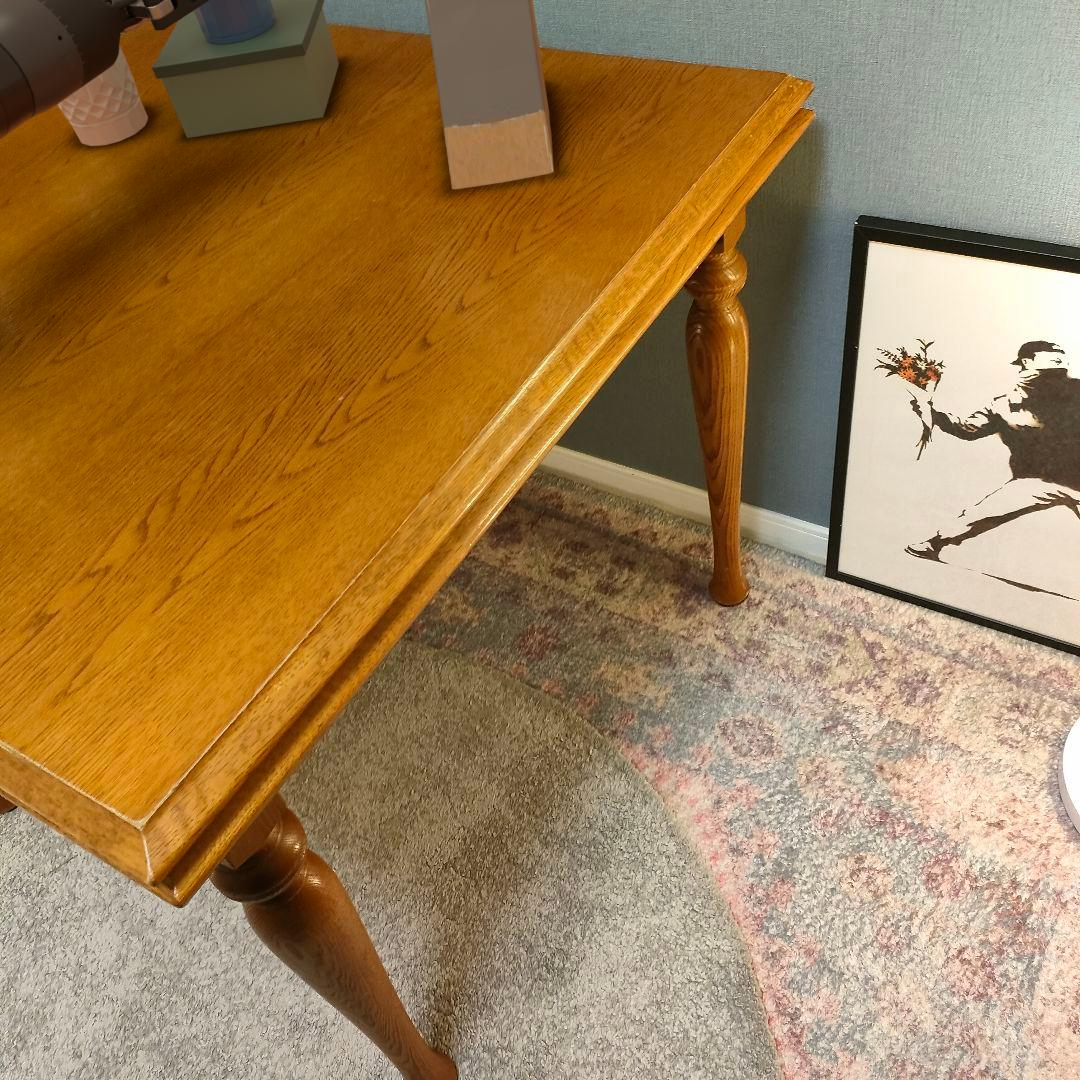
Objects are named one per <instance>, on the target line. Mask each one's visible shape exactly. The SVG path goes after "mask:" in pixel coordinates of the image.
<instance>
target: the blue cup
mask: <svg viewBox="0 0 1080 1080" xmlns="http://www.w3.org/2000/svg"><path fill="white" fill-rule="evenodd" d="M193 12H195V15H196V18H197V20H198V23H199V25H200V28H201V30H202V32H203V35H204V38H205V39H206V40H207V41H208V42H210V43H214V44H231V43H237V42H241V41H245V40H248V39H251V38H253V37H256V36H258V35H260V34H262V33H264V32H265V31H267V30H268V29H270V28H271V27H272V26H273V25H274V23H275V21H276V17H275V14H274V9H273V6H272V3H271V0H209V1H208V2H206V3H205V4H203V5H201V6H200V7H198V8H197V9H195V10H194V11H193Z"/></svg>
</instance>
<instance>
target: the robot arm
mask: <svg viewBox="0 0 1080 1080" xmlns="http://www.w3.org/2000/svg"><path fill="white" fill-rule="evenodd" d="M208 1H209V0H0V140H2V139H3V138H5V137H7V136H8V135H9V134H10V133H12V132H14V131H15V130H16V129H18V128H19V127H21V126H22V125H23V124H25V123H27V122H28V121H29V120H31V119H32V118H34V117H36V116H38V115H40V114H42V113H45V112H47V111H49V110H51V109H52V108H54V107H56V106H58V105H57V104H59V103H60V102H62V101H63V100H65V99H66V98H67V97H69V96H70V95H72V94H73V93H74V92H76V91H77V90H79V89H80V88H82V87H83V86H84V85H86V84H87V83H89V82H90V81H92V80H93V79H94V78H96V77H97V76H99V75H100V74H102V73H103V72H104V71H106V70H107V69H109V68H110V67H111V66H113V64H114V63H115V62H116V60H117V58H118V54H119V44H120V45H121V43H120V42H121V35H122V34H125V33H128V32H130V31H131V32H132V31H134V30H137V29H138V28H140V26H141V25H142V24H143V23H147V22H149V21H150V22H151V25H152V27H153V29H154V31H165V30H166V29H168V28H169V27H171V26H173V25H174V24H176V23H178V21H179V20H180V19H182V18H183V17H185V16H186V15H188V14H189V13H191V12H194V10H195V9H197V8H198V7H200V6H201V5H203V4H205V3H206V2H208Z"/></svg>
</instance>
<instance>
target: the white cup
mask: <svg viewBox="0 0 1080 1080" xmlns="http://www.w3.org/2000/svg"><path fill="white" fill-rule="evenodd" d="M56 106H58V108H59V110H60V111H61V113H62V114H63V116H64V118H66V120H68V123H69V124H70V125H71V127H72V129H73V131H74V133H75V134H76V136H77V138H78V140H79V142H80V143H81V144H83V145H86V146H90V147H98V146H107V145H112V144H115V143H118V142H122V141H123V140H126V139H129V138H130V137H132V136H134V135H136V134H137V133H138V132H140V131H141V130H142V129H143V128H145V126H146V125H147V122H148V120H149V116H148V114H147V111H146V109H145V106H144V104H143V102H142V100H141V97H140V95H139V90H138V86H137V84H136V81H135V78H134V76H133V73H132V70H131V67H130V66H129V63H128V60H127V58H126V55H125V53H124V51H123V48H122V46H121V43H120V44H119V54H118V58H117V60H116V62H115V63H114V64H113V66H111V67H110V68H109V69H107V70H106V71H104V72H103V73H102V74H100V75H99V76H97V77H96V78H94V79H93V80H92V81H90V82H89V83H87V84H86V85H84V86H83V87H82V88H80V89H79V90H77V91H76V92H74V93H73V94H72V95H70V96H69V97H67V98H66V99H65V100H63V101H62V102H60V103H59V104H57V105H56Z"/></svg>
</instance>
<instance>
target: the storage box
mask: <svg viewBox="0 0 1080 1080" xmlns="http://www.w3.org/2000/svg"><path fill="white" fill-rule="evenodd" d="M271 3H272V6H273V9H274V14H275V17H276V21H275V23H274V25H273V26H272V27H271V28H270V29H268V30H267V31H265V32H264V33H262V34H260V35H258V36H256V37H253V38H251V39H248V40H245V41H241V42H237V43H231V44H214V43H210V42H208V41H207V40H206V39H205V38H204V35H203V32H202V30H201V28H200V25H199V23H198V20H197V18H196V15H195V12H194V11H192V12H191V13H189V14H188V15H186V16H185V17H183V18H182V19H180V20H178V21H177V22H176V25H175V26H174V28H173V29H172V32H171V33H170V35H169V37H168V38H167V41H166V43H165V44H164V45H163V47H162V49H161V51H160V53H159V54H158V57H157V58H156V60H155V62H154V64H153V65H152V66H151V69H152V73H153V75H154V77H155V79H156V80H158V79H160V80H161V82H162V84H163V85H164V88H165V91H166V93H167V95H168V97H169V99H170V102H171V104H172V106H173V109H174V110H175V113H176V116H177V118H178V120H179V123H180V125H181V126H182V129H183V131H184V134H185V136H186V138H187V139H190V138H197V137H203V136H209V135H217V134H223V133H230V132H236V131H241V130H249V129H255V128H261V127H269V126H275V125H281V124H289V123H294V122H295V123H296V122H301V121H307V120H315V119H320V118H324V116H325V114H326V113H325V112H326V109H327V105H328V103H329V99H330V96H331V93H332V89H333V86H334V82H335V78H336V75H337V72H338V69H339V66H340V62H339V59H338V56H337V53H336V49H335V46H334V42H333V39H332V36H331V32H330V30H329V26H328V22H327V19H326V15H325V13H324V9H323V6H324V3H325V0H271Z"/></svg>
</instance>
